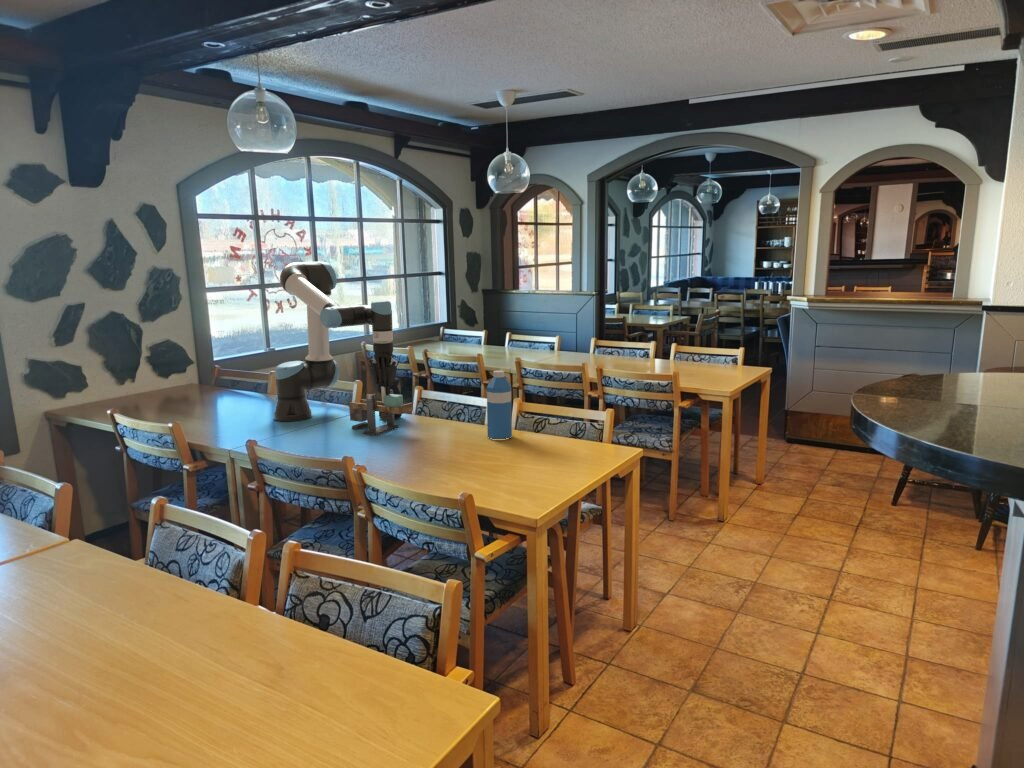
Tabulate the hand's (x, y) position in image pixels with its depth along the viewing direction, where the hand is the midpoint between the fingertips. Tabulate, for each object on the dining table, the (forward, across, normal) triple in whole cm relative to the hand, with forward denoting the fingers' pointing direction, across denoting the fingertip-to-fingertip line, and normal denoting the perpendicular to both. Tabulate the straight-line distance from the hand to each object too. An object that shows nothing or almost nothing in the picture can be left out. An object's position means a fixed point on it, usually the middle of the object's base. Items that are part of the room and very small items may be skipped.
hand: (385, 402), depth 261 cm
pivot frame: (+11, -3, 0) cm, 12 cm away
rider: (+2, +4, 0) cm, 4 cm away
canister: (+12, -13, +17) cm, 24 cm away
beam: (+8, -3, 0) cm, 8 cm away
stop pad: (+11, -13, 0) cm, 18 cm away
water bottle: (+12, +43, +13) cm, 47 cm away
